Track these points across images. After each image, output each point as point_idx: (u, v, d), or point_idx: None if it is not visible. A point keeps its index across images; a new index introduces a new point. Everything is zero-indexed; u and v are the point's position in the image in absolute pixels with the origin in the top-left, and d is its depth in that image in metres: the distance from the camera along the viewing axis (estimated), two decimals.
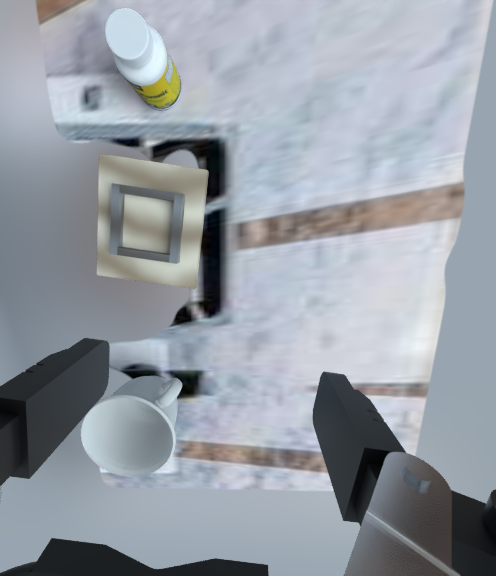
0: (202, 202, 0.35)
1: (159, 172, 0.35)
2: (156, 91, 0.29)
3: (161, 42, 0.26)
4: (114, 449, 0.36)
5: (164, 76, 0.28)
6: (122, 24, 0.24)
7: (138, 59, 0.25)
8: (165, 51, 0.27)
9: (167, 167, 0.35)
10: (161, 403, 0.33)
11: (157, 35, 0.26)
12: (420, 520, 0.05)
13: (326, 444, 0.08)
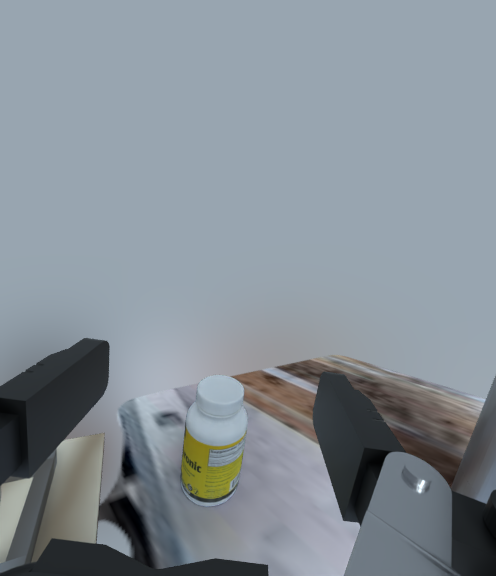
0: None
1: (79, 516, 0.19)
2: (191, 452, 0.22)
3: (238, 429, 0.22)
4: None
5: (209, 451, 0.21)
6: (226, 384, 0.23)
7: (204, 402, 0.21)
8: (234, 438, 0.21)
9: (90, 526, 0.19)
10: None
11: (242, 424, 0.22)
12: (420, 520, 0.05)
13: (326, 444, 0.08)
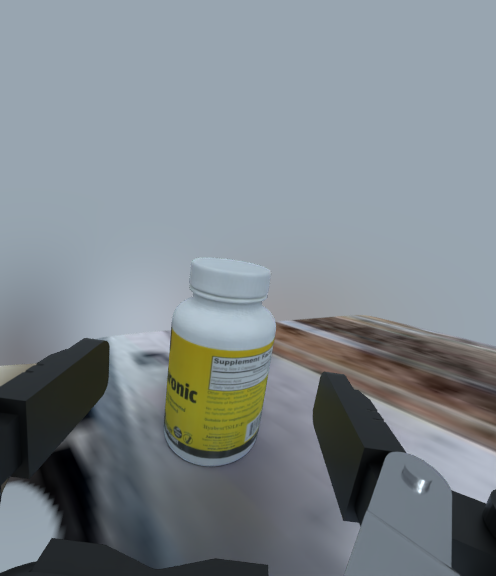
0: None
1: None
2: (179, 368, 0.12)
3: (263, 328, 0.12)
4: None
5: (212, 360, 0.12)
6: (241, 264, 0.14)
7: (204, 273, 0.12)
8: (256, 341, 0.12)
9: None
10: None
11: (269, 323, 0.13)
12: (420, 520, 0.05)
13: (326, 444, 0.08)
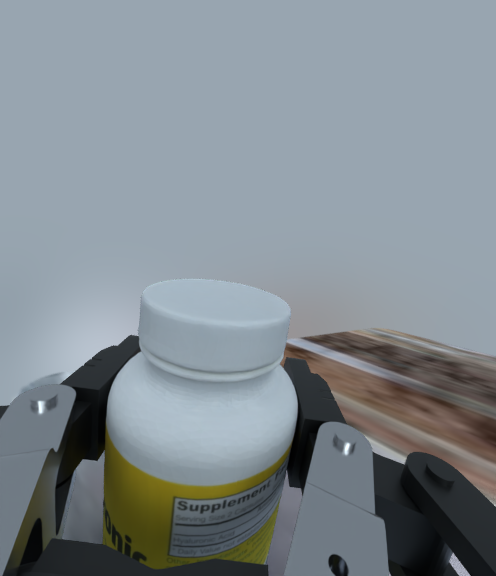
0: None
1: None
2: (114, 503, 0.06)
3: (279, 425, 0.06)
4: None
5: (174, 504, 0.06)
6: (236, 293, 0.08)
7: (158, 322, 0.06)
8: (264, 456, 0.06)
9: None
10: None
11: (288, 408, 0.07)
12: (349, 479, 0.05)
13: None
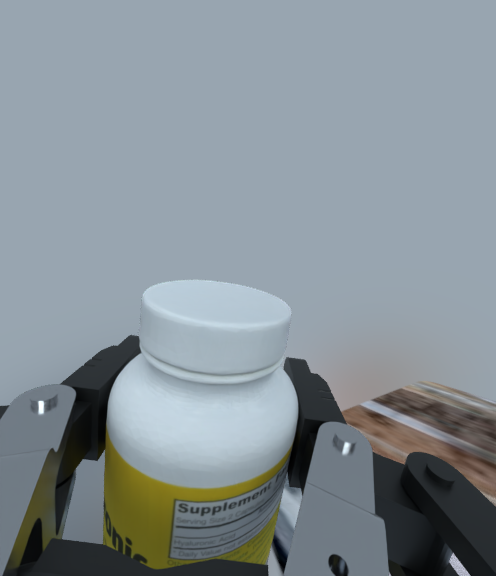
0: None
1: None
2: (115, 505, 0.06)
3: (279, 427, 0.06)
4: None
5: (176, 507, 0.06)
6: (236, 294, 0.08)
7: (159, 324, 0.06)
8: (265, 458, 0.06)
9: None
10: None
11: (288, 410, 0.07)
12: (349, 479, 0.05)
13: None
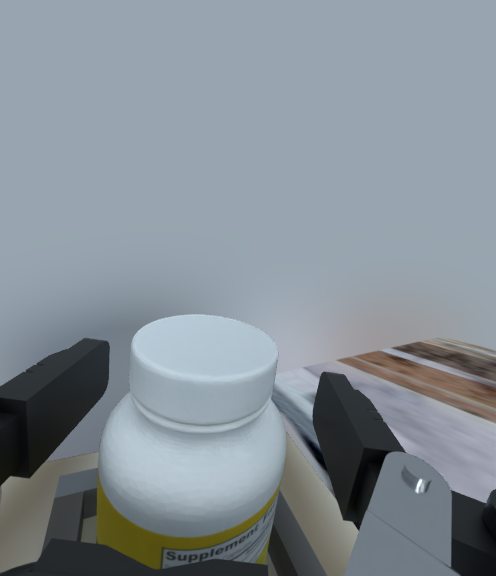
0: None
1: (341, 542, 0.12)
2: None
3: (265, 471, 0.06)
4: None
5: (163, 555, 0.06)
6: (225, 332, 0.08)
7: (147, 376, 0.06)
8: (251, 504, 0.06)
9: None
10: None
11: (275, 450, 0.07)
12: (419, 520, 0.05)
13: (326, 444, 0.08)
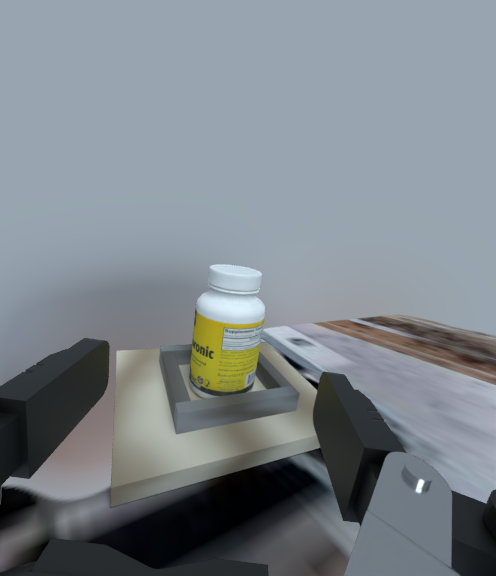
0: (308, 434, 0.18)
1: (295, 380, 0.25)
2: (202, 337, 0.19)
3: (256, 310, 0.19)
4: None
5: (224, 330, 0.18)
6: (241, 269, 0.21)
7: (218, 275, 0.18)
8: (251, 318, 0.19)
9: (307, 385, 0.24)
10: None
11: (260, 308, 0.20)
12: (420, 520, 0.05)
13: (326, 444, 0.08)
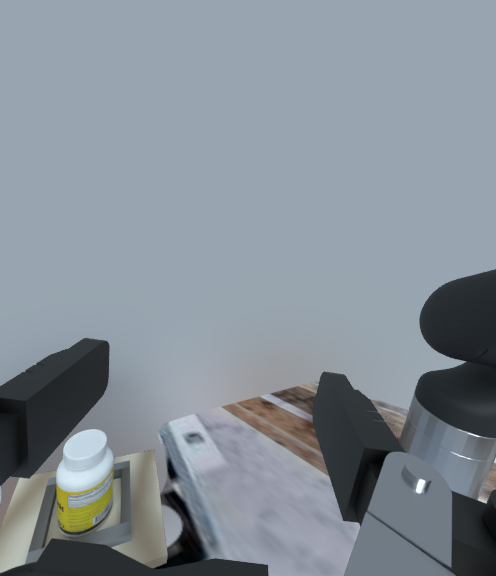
0: None
1: (150, 502, 0.33)
2: (57, 495, 0.27)
3: (94, 478, 0.27)
4: None
5: (68, 496, 0.27)
6: (93, 439, 0.29)
7: (65, 457, 0.27)
8: (89, 485, 0.27)
9: (157, 507, 0.32)
10: None
11: (100, 473, 0.28)
12: (420, 520, 0.05)
13: (326, 444, 0.08)
